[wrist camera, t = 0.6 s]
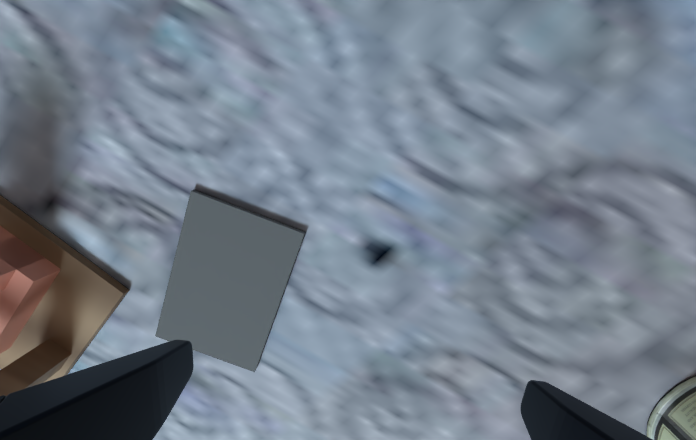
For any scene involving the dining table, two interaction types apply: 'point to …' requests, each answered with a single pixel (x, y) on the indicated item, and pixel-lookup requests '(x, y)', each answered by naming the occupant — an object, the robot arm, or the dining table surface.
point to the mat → (227, 280)
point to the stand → (56, 308)
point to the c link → (20, 285)
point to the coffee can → (675, 414)
